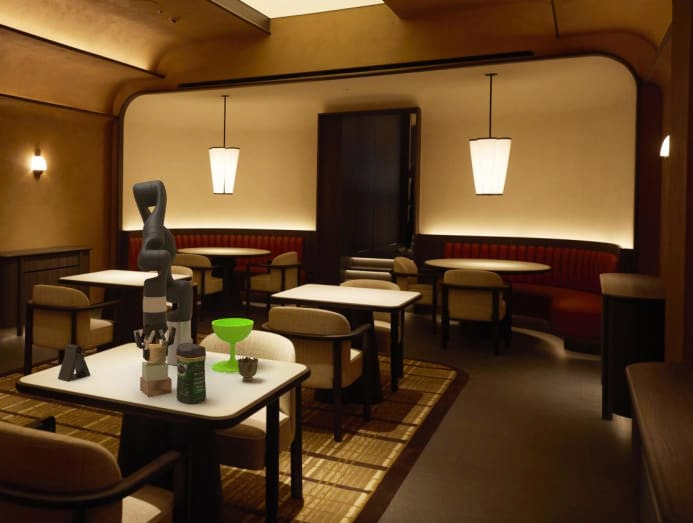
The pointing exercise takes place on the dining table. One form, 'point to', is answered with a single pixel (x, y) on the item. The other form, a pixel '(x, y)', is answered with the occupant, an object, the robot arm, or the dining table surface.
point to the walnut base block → (155, 387)
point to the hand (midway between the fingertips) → (155, 358)
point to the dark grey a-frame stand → (73, 364)
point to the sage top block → (154, 371)
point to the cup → (247, 368)
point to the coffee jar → (191, 373)
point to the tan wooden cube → (157, 353)
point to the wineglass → (231, 339)
